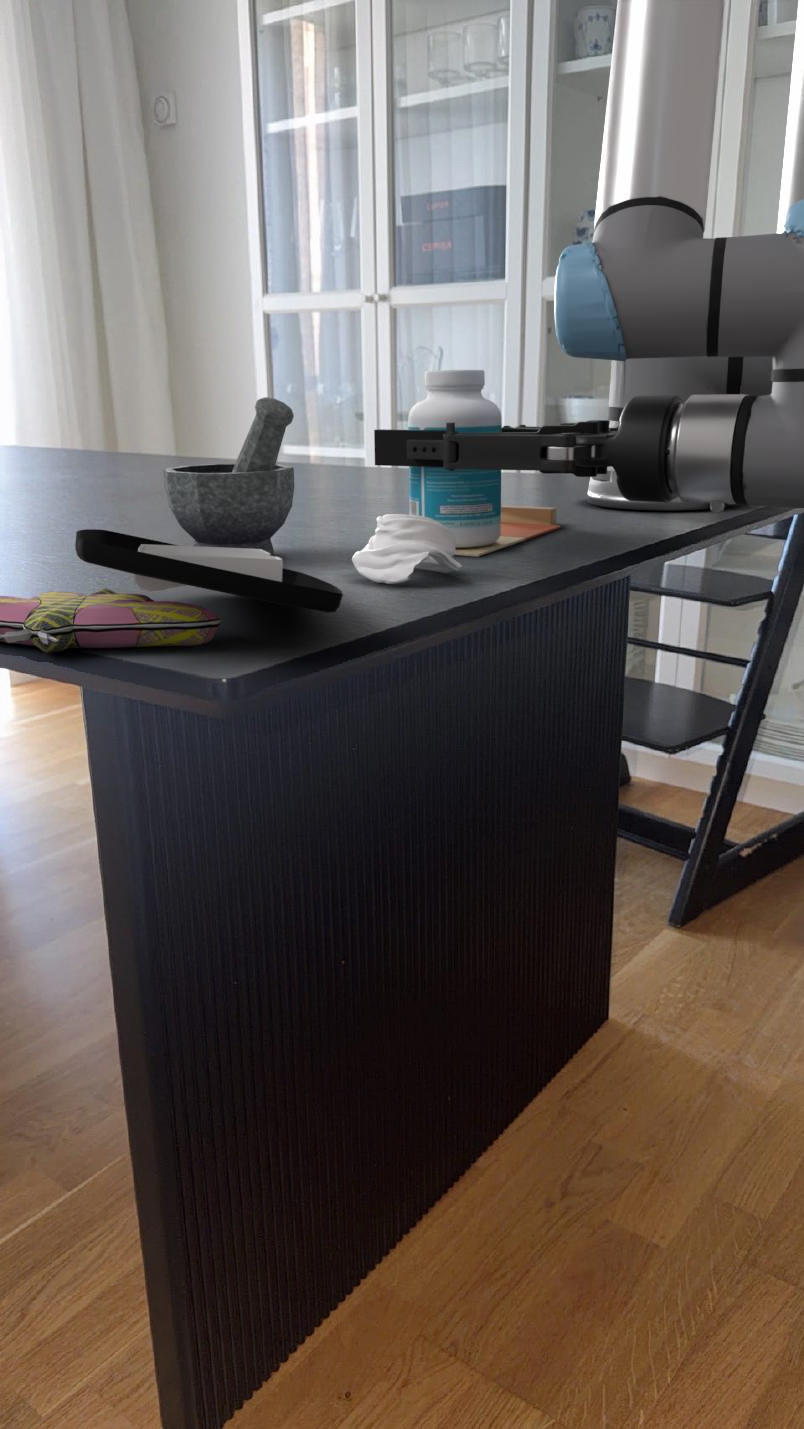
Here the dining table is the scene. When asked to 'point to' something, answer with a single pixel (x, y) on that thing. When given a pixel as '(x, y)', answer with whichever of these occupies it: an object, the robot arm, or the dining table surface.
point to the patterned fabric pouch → (103, 621)
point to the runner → (508, 537)
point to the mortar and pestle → (238, 488)
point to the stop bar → (528, 515)
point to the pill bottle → (464, 493)
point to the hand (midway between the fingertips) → (401, 444)
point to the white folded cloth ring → (406, 549)
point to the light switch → (206, 569)
